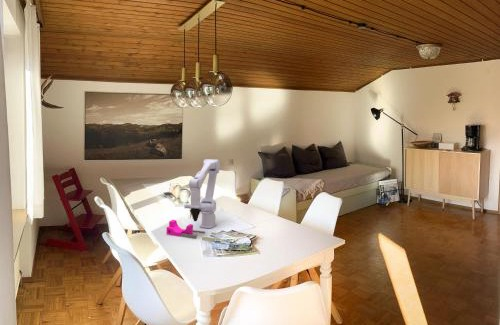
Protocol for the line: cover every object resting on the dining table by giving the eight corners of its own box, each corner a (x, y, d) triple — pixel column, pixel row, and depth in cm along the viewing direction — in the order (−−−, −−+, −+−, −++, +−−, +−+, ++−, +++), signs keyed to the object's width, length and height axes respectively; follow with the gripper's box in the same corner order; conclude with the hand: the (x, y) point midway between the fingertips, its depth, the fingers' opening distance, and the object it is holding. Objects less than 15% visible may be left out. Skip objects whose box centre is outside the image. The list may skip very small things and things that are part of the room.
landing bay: (212, 235, 237) (212, 232, 237) (240, 238, 230) (240, 235, 230) (201, 240, 226) (201, 236, 225) (231, 243, 218) (231, 240, 218)
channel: (180, 231, 245) (180, 228, 245) (205, 234, 238) (205, 231, 238) (170, 235, 234) (170, 232, 234) (195, 239, 228) (195, 235, 228)
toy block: (166, 234, 236) (166, 222, 234) (172, 230, 242) (172, 219, 240) (186, 239, 230) (187, 228, 228) (192, 236, 235) (193, 224, 234)
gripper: (181, 198, 232) (181, 221, 233) (202, 200, 227) (202, 223, 228) (187, 197, 239) (187, 218, 240) (208, 198, 233) (208, 221, 234)
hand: (195, 220), depth 234 cm, fingers closed
